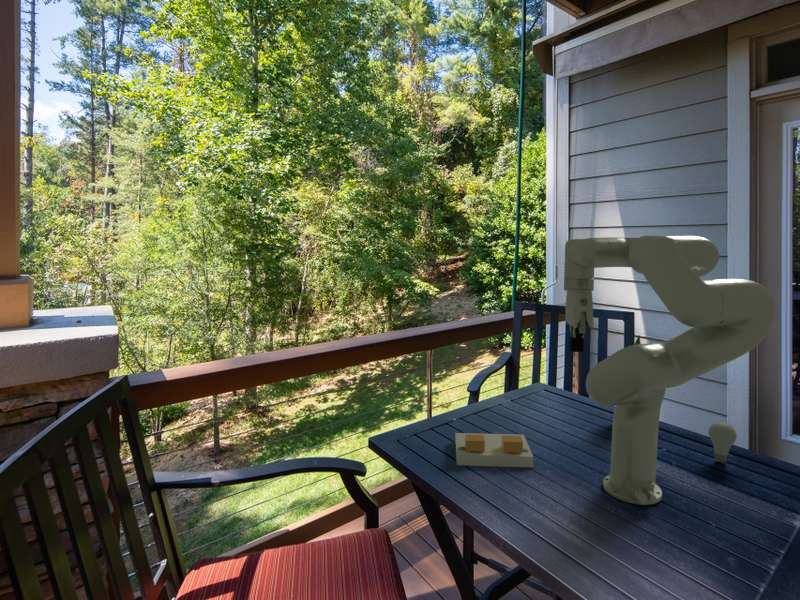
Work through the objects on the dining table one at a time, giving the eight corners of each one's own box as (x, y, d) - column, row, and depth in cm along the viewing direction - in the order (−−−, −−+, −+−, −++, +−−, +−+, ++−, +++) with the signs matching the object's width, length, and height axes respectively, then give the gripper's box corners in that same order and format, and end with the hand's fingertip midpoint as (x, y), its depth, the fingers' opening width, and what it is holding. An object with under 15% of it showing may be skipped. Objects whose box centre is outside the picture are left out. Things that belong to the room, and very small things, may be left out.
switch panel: (533, 467, 120) (533, 456, 119) (456, 465, 122) (456, 454, 121) (523, 444, 134) (523, 434, 133) (455, 442, 135) (455, 432, 135)
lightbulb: (722, 469, 117) (725, 428, 116) (700, 459, 123) (703, 420, 122) (740, 466, 119) (743, 426, 118) (718, 455, 125) (721, 417, 123)
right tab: (522, 452, 121) (522, 442, 121) (503, 452, 121) (503, 441, 121) (520, 446, 125) (520, 435, 125) (501, 445, 125) (501, 435, 125)
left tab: (484, 451, 122) (484, 441, 122) (465, 451, 122) (465, 440, 122) (483, 445, 126) (483, 434, 126) (465, 444, 126) (465, 434, 126)
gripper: (602, 287, 115) (599, 358, 117) (584, 282, 130) (582, 345, 132) (572, 287, 116) (569, 358, 118) (557, 282, 130) (555, 345, 133)
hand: (576, 351), depth 125 cm, fingers closed
